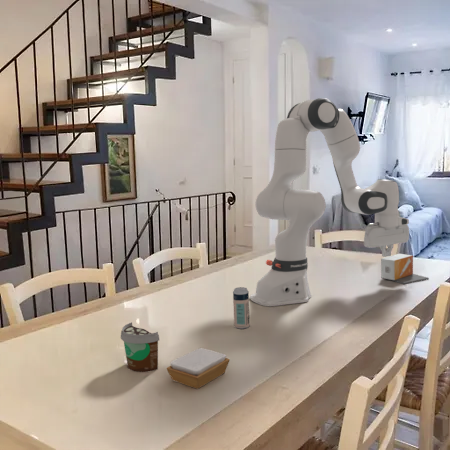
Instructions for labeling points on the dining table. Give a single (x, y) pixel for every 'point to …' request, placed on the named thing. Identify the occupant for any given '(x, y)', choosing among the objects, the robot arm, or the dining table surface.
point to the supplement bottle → (241, 307)
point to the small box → (396, 266)
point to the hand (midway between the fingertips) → (386, 256)
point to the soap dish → (198, 367)
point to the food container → (140, 348)
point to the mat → (410, 279)
